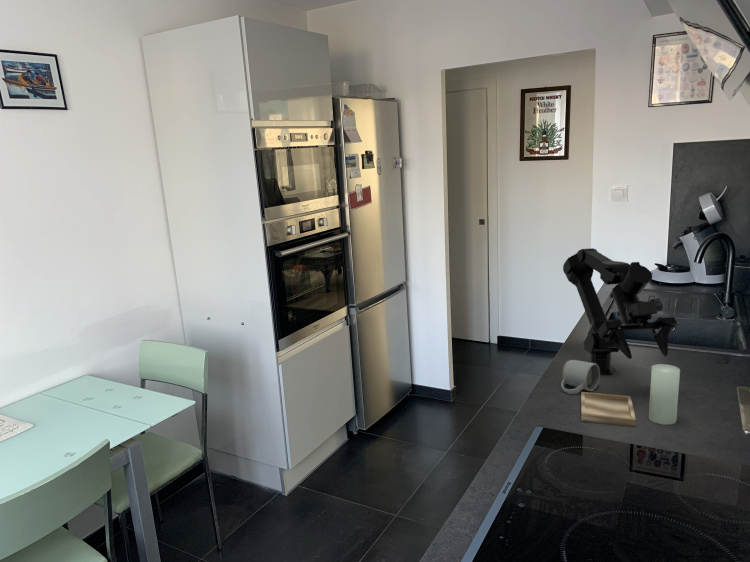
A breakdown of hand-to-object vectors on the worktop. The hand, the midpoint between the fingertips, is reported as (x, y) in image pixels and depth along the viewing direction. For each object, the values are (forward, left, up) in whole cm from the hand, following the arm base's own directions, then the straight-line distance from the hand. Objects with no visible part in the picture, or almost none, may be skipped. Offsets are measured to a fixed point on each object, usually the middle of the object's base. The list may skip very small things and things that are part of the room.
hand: (648, 357), depth 141 cm
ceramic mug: (-8, -16, -13) cm, 22 cm away
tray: (+6, -9, -13) cm, 17 cm away
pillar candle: (+7, +3, -13) cm, 15 cm away
